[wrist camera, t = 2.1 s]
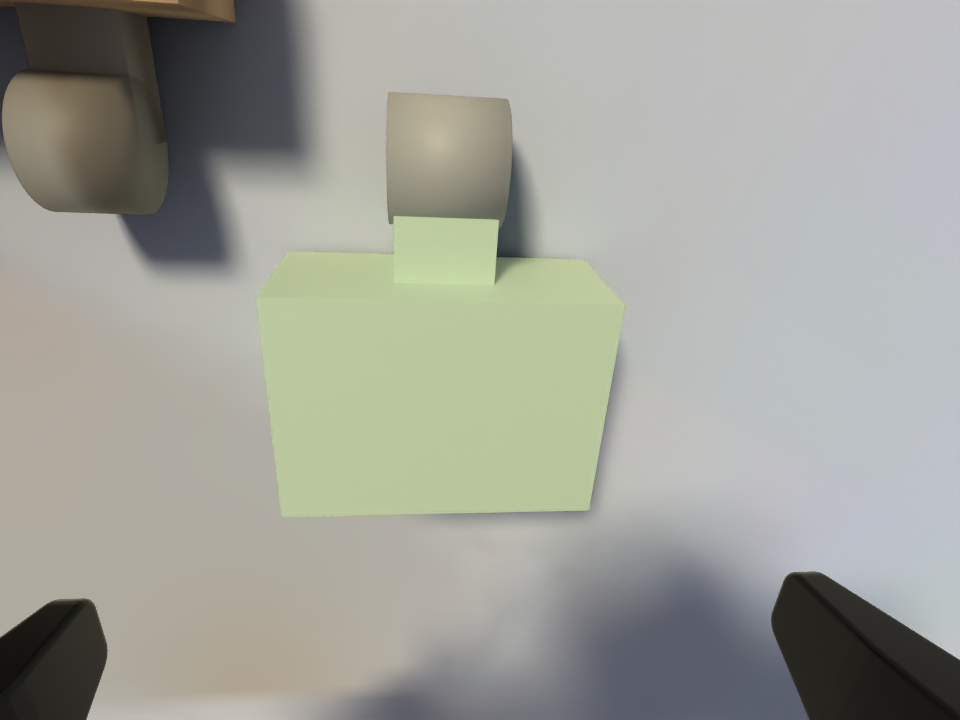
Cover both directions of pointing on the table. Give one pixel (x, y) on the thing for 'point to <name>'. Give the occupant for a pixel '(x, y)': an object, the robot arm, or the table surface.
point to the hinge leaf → (438, 344)
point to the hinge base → (92, 103)
